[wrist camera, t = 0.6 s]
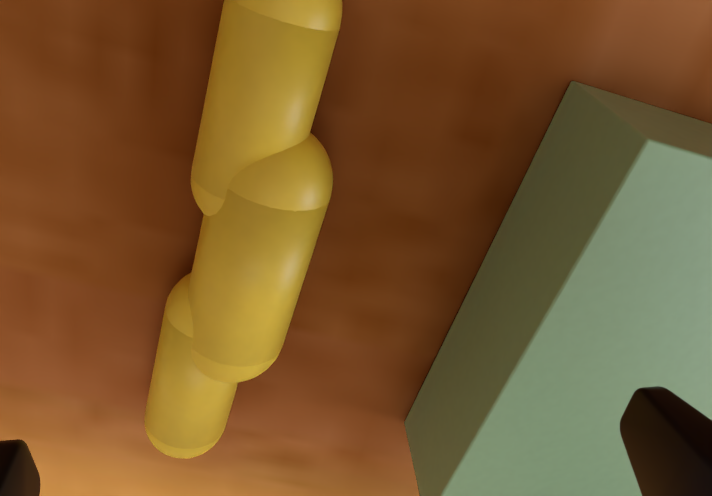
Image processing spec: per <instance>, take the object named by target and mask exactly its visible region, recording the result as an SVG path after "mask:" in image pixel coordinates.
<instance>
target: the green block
mask: <svg viewBox="0 0 712 496" xmlns="http://www.w3.org/2000/svg"><path fill="white" fill-rule="evenodd" d="M655 386H660V387H664V388H667V389H668V390H670V391H671V392H673V393H674V394H676V395H677V396H678V397H680V398H681V399H683V400H684V401H685V402H687V403H688V404H690V405H691V406H692V407H694V408H695V409H697V410H698V411H699V412H701V413H702V414H704V415H705V416H707V417H708V418H709V419H711V420H712V124H711V123H707V122H704V121H701V120H698V119H695V118H691V117H688V116H685V115H682V114H678V113H675V112H672V111H669V110H666V109H662V108H659V107H656V106H653V105H649V104H646V103H643V102H640V101H637V100H633V99H630V98H627V97H624V96H620V95H617V94H614V93H611V92H608V91H604V90H601V89H598V88H595V87H592V86H588V85H585V84H582V83H579V82H575V81H572V82H571V83H570V85H569V87H568V89H567V91H566V93H565V95H564V97H563V99H562V101H561V103H560V105H559V107H558V109H557V111H556V113H555V115H554V117H553V119H552V121H551V123H550V126H549V128H548V130H547V132H546V134H545V136H544V138H543V140H542V142H541V144H540V146H539V148H538V150H537V152H536V154H535V156H534V158H533V160H532V162H531V164H530V166H529V168H528V170H527V173H526V175H525V177H524V179H523V181H522V183H521V185H520V187H519V189H518V191H517V193H516V195H515V197H514V199H513V201H512V203H511V205H510V207H509V209H508V211H507V213H506V215H505V217H504V220H503V222H502V224H501V226H500V228H499V230H498V232H497V234H496V236H495V238H494V240H493V242H492V244H491V246H490V248H489V250H488V252H487V254H486V256H485V258H484V260H483V262H482V265H481V267H480V269H479V271H478V273H477V275H476V277H475V279H474V281H473V283H472V285H471V287H470V289H469V291H468V293H467V295H466V297H465V299H464V301H463V303H462V305H461V307H460V309H459V312H458V314H457V316H456V318H455V320H454V322H453V324H452V326H451V328H450V330H449V332H448V334H447V336H446V338H445V340H444V342H443V344H442V346H441V348H440V350H439V352H438V354H437V356H436V359H435V361H434V363H433V365H432V367H431V369H430V371H429V373H428V375H427V377H426V379H425V381H424V383H423V385H422V387H421V389H420V391H419V393H418V395H417V397H416V399H415V401H414V404H413V406H412V408H411V410H410V412H409V414H408V416H407V418H406V420H405V422H404V424H405V428H406V433H407V438H408V442H409V447H410V452H411V456H412V461H413V466H414V470H415V475H416V480H417V484H418V489H419V494H420V496H642V494H641V491H640V488H639V486H638V483H637V480H636V477H635V474H634V471H633V469H632V466H631V463H630V460H629V457H628V454H627V452H626V449H625V446H624V443H623V440H622V437H621V434H620V420H621V417H622V415H623V413H624V411H625V409H626V407H627V405H628V403H629V401H630V399H631V397H632V395H633V393H634V392H635V391H636V390H637V389H638V388H643V387H655Z"/></svg>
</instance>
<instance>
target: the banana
mask: <svg viewBox="0 0 712 496" xmlns="http://www.w3.org/2000/svg"><path fill="white" fill-rule="evenodd" d="M341 19H342V0H224V3H223V8H222V13H221V19H220V24H219V29H218V34H217V39H216V45H215V50H214V55H213V60H212V65H211V71H210V76H209V81H208V86H207V92H206V97H205V102H204V107H203V112H202V118H201V123H200V128H199V133H198V138H197V144H196V149H195V154H194V159H193V165H192V170H191V188H192V193H193V196H194V198H195V201H196V203H197V205H198V206H199V208H200V209H201V211H202V212H203V214H204V216H203V220H202V225H201V230H200V235H199V239H198V244H197V249H196V254H195V258H194V263H193V268H192V272H191V273H190V274H188V275H186V276H185V277H183V278H182V279H181V280H180V281H179V282H178V283H177V284H176V285H175V286H174V287H173V289H172V291H171V292H170V294H169V296H168V299H167V302H166V305H165V310H164V316H163V321H162V326H161V331H160V337H159V342H158V347H157V352H156V357H155V363H154V368H153V373H152V378H151V383H150V389H149V394H148V399H147V404H146V410H145V418H144V423H145V429H146V433H147V435H148V438H149V439H150V441H151V442H152V444H153V445H154V446H155V447H156V448H157V449H158V450H159V451H160V452H162V453H163V454H165V455H168V456H170V457H174V458H183V459H185V458H192V457H196V456H199V455H201V454H203V453H205V452H207V451H208V450H209V449H211V448H212V447H213V446H214V445H215V444H216V443H217V442H218V440H219V439H220V437H221V436H222V434H223V432H224V430H225V427H226V424H227V420H228V417H229V413H230V410H231V406H232V403H233V399H234V396H235V392H236V389H237V385H238V382H242V381H246V380H250V379H252V378H255V377H257V376H258V375H260V374H261V373H263V372H264V371H266V370H267V369H268V368H269V367H270V366H271V365H272V364H273V362H274V361H275V360H276V359H277V357H278V355H279V353H280V351H281V349H282V347H283V344H284V341H285V337H286V334H287V331H288V328H289V325H290V322H291V319H292V316H293V313H294V310H295V306H296V303H297V300H298V297H299V294H300V291H301V288H302V285H303V282H304V279H305V275H306V272H307V269H308V266H309V263H310V260H311V257H312V254H313V251H314V248H315V244H316V241H317V238H318V235H319V232H320V229H321V226H322V223H323V220H324V217H325V213H326V210H327V207H328V204H329V201H330V198H331V193H332V188H333V171H332V167H331V162H330V159H329V157H328V155H327V153H326V150H325V149H324V147H323V146H322V144H321V143H320V142H319V141H318V139H317V138H316V137H315V136H314V135H313V134H311V133H310V131H311V127H312V124H313V120H314V117H315V114H316V110H317V107H318V103H319V100H320V96H321V93H322V89H323V86H324V82H325V79H326V75H327V72H328V68H329V65H330V61H331V58H332V54H333V51H334V47H335V44H336V40H337V37H338V33H339V30H340V25H341Z"/></svg>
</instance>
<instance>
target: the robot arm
mask: <svg viewBox="0 0 712 496" xmlns="http://www.w3.org/2000/svg"><path fill="white" fill-rule="evenodd" d="M620 434H621V437H622V440H623V443H624V446H625V449H626V452H627V454H628V457H629V460H630V463H631V466H632V469H633V471H634V474H635V477H636V480H637V483H638V486H639V488H640V491H641V494H642V496H712V420H711V419H709V418H708V417H707V416H705V415H704V414H702V413H701V412H699V411H698V410H697V409H695V408H694V407H692V406H691V405H690V404H688V403H687V402H685V401H684V400H683V399H681V398H680V397H678V396H677V395H676V394H674V393H673V392H671V391H670V390H668V389H667V388H664V387H660V386H655V387H643V388H638V389H637V390H636V391H635V392H634V393H633V395H632V397H631V399H630V401H629V403H628V405H627V407H626V409H625V411H624V413H623V415H622V417H621V420H620ZM39 494H40V476H39V473H38V470H37V468H36V465H35V463H34V460H33V458H32V456H31V453H30V451H29V448H28V446H27V444H26V443H25V442H24V441H23V440H6V441H0V496H39Z"/></svg>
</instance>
